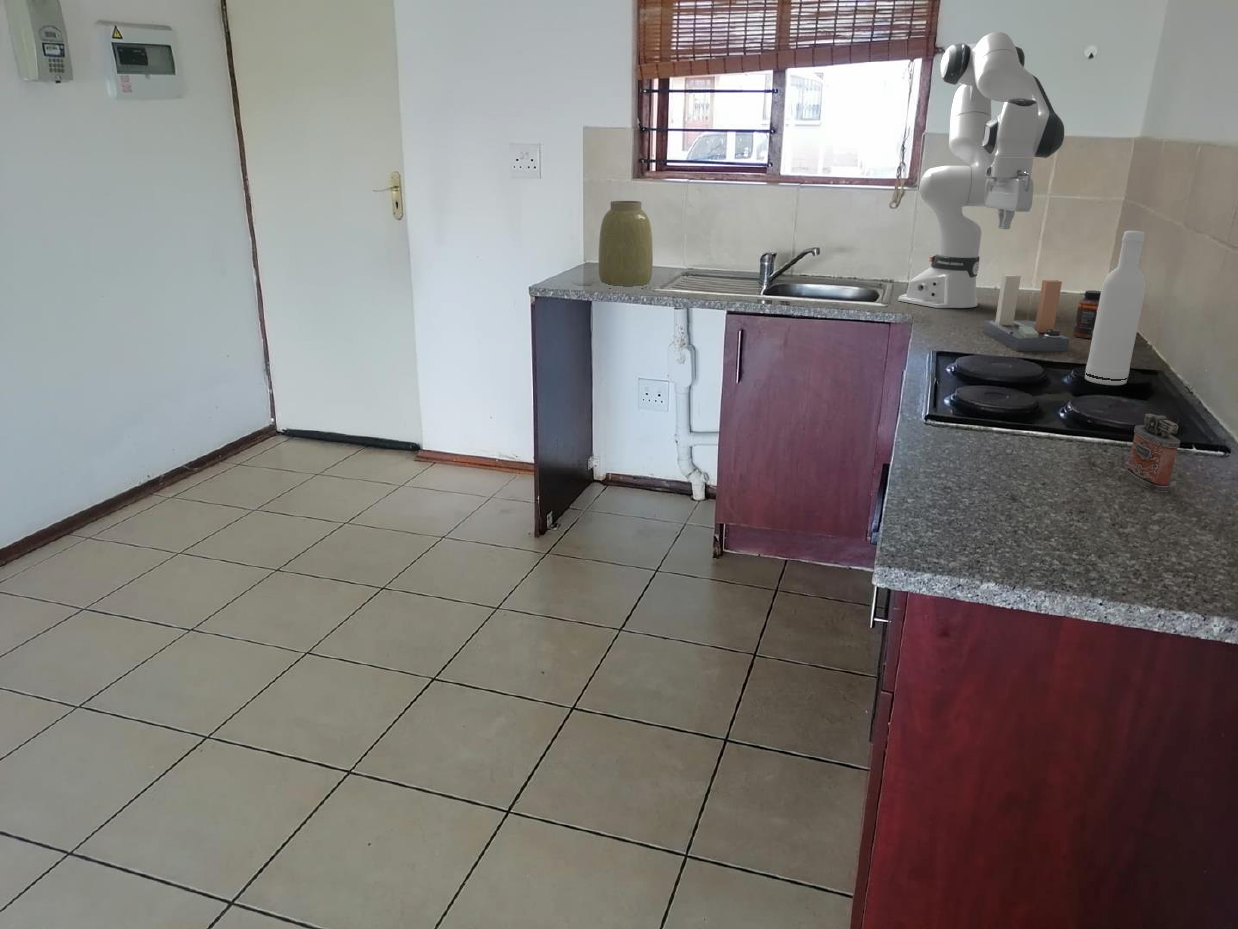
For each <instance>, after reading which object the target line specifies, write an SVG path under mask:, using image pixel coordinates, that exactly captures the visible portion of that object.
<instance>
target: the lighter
mask: <svg viewBox="0 0 1238 929" xmlns="http://www.w3.org/2000/svg"><path fill="white" fill-rule="evenodd" d="M1144 416H1145V417H1144V424H1138V425H1135V426H1134V430H1133V432H1134V436H1133V441H1132V446H1131V451H1130V455H1129V459H1128V463H1127V464H1128V465H1127V466H1126V467H1125V470H1124V475H1125V476H1126V477H1127V478H1129V480H1132V481H1133V482H1135V483H1136V484H1138V485H1140V486H1142V487H1144V488H1146V489H1148V490H1150V491H1154V492H1158V493H1168V492H1169V491H1170V488H1171V483H1170V481H1171V477H1172V473H1173V468H1174V464H1175V460H1176V456H1177V452H1178V448H1179V447H1180V446H1181V445H1180V444H1181V440H1180V439H1179V438H1177V437H1175V436H1174V435H1172V434H1177V433H1178V429H1179V425H1178V423H1175V422H1173V421H1170V420H1168V418H1167V417H1166V415H1156V414H1153V413H1145V415H1144Z"/></svg>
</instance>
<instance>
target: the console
mask: <svg viewBox="0 0 1238 929" xmlns="http://www.w3.org/2000/svg"><path fill="white" fill-rule="evenodd" d="M995 321H996V320H986V319H985V320H983V322H982V328H981V333H982V334H985V335H987V336H989V337H990V338H992V339H994V340H996V341H997V342H999V343H1001V344H1003V345H1005V346H1006V347H1008V348H1010V349H1011V350H1014V351H1015V352H1068V349H1069V344H1070V338H1069V337H1067V336H1065V335H1063V334H1061V330H1060V329H1055V328H1054V329H1048V330H1046V332H1038V331H1037V332H1038V333H1039V335H1038V338H1025V337H1024V336H1023V335H1022V334H1021V333H1020V332H1019V331H1018V330H1019V327H1033V328H1034V329H1035V323H1036V320H1033V321H1032V320H1014V322H1013V325H999V324H997V323H995Z"/></svg>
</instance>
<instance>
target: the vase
mask: <svg viewBox="0 0 1238 929" xmlns="http://www.w3.org/2000/svg"><path fill="white" fill-rule="evenodd" d="M598 239H599V241H598V276H599V279H600V282H602V283H605V284H608V285H613V286H623V287H633V286H644V285H647V284H648V285H649V284H650V282H651V280H652V276H653V262H654V261H653V260H654V259H653V256H654V255H653V254H654V253H653V252H654V250H653V236H652V228H651V223H650V219H649V217H648V215H647V214H646V212H645V211H644V210H643V209H642V201H637V200H614V201H610V209H609V210H608V211H607V212H606V213H605V214H604V216H603V218H602V220H601V225H600V231H599V238H598ZM602 283H601V284H602ZM645 288H646V289H647V288H648V286H647V287H645ZM609 289H611V288H609ZM641 289H644V288H641Z"/></svg>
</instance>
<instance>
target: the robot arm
mask: <svg viewBox="0 0 1238 929" xmlns="http://www.w3.org/2000/svg"><path fill="white" fill-rule="evenodd" d="M1025 57H1026V56H1025V53H1024V51H1023V49H1022V48H1021V47H1019V46H1016V45H1015V43H1014V42H1013V40H1012V38H1011V36H1009V34H1007V33H1005V32H1002V31H994V32H991V33H988V34H986V35H984V36H983V37H982V38H981V39H979V42H978V43H963V42H960V43H955V44H952V45H950V46H949V47H948V48H947V49H946V50H945V52H944V54H943V56H942V59H941V62H940V75H941V79H942V80H943V82H945V83H947V84H949V85H954V86H955V85H960V87H958V89H957V90H956V91H955V94H954V97H953V101H952V105H951V109H950V110H951V111H950V117H949V133H948V134H949V135H948V136H949V137H948V147H949V150H950V152H951V154H952V155H953V156H954V157H956V158H957V159H959V160H962V161H963V162H964V163H966V164H967V165H942V166H937V167H936V166H935V167H931V168H928V169H927V170H926V171H925V172H924V174H923V175H922V177H921V180H920V182H919V194H920V197H921V198H922V200H923V201H924V203H925V204H926V205H928V206H929V207H930V208H931V209H932V211H933V212H934V213H935V215H936V217H937V221H938V223H939V245H938V253H937V254H935V255H933V256H932V257H929V260H928V262H931V265H930V267H929V268H927V269H926V270H924V271H922V272H921V273H918V275H916V276H914V277H913V278H911V280H910V281H909V284H908V286H907V291H906V293H904V294H901V295H899V296H898V301H899V302H903V303H910V304H915V305H919V306H926V307H931V308H935V309H967V308H969V309H970V308H975V307H977V306H978V299H977V289H976V288H977V276H978V273H979V268H980V260H981V258H980V256H979V253H980V247H981V246H980V245H981V240H982V229H981V227H980V225H979V224H978V223H977V222H975V221H974V220H972V219H971V218H968V216H967V217H966V216H965V215H964V214H963V208H964V207H985V208H987V209H995V210H996V209H997V218H998V229H1002V230H1010V228H1011V224H1012V221H1013V219H1014V217H1015V215H1016V214H1015V212H1018V213H1019V212H1022V213H1025V212H1027V213H1028V212H1030V211H1031V209H1032V207H1033V196H1034V181H1033V179H1032V178H1031V177H1032V171H1033V164H1034V158H1044V159H1047V158H1049V157H1050V156H1052V155H1053V154H1054V153H1056V152H1057V151H1058V150H1059V149H1060V148H1061V147H1062V146H1063V142H1064V140H1065V125H1064V122H1063V121H1062V119H1061V117H1059V115H1058V114H1057V113H1056V112H1055V110H1054V108H1053V106H1052V104H1051V102H1050V99H1049V97H1048V95H1047V93H1046V91H1045V89H1044V87H1043V85H1042V84H1041V81H1040V80H1039V78H1038V77H1036V76H1035V75H1033V73H1030V72H1029V71H1028V70H1027V69H1026V68H1025ZM992 101H994V102H1001V103H1003V105H1002V109H1001V113H1000V114H998V115H997V116H993V117H992Z"/></svg>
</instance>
